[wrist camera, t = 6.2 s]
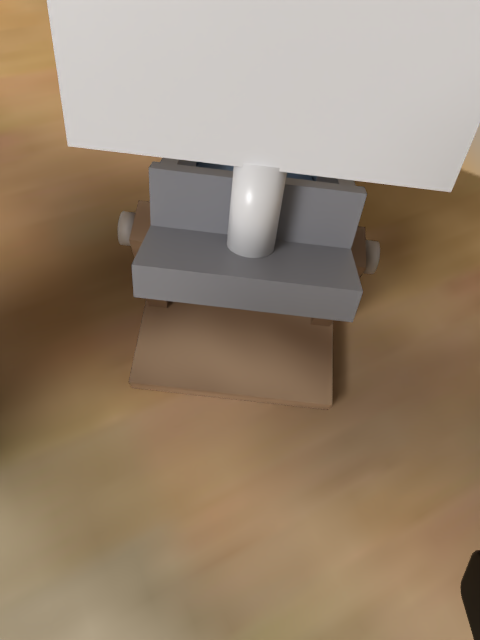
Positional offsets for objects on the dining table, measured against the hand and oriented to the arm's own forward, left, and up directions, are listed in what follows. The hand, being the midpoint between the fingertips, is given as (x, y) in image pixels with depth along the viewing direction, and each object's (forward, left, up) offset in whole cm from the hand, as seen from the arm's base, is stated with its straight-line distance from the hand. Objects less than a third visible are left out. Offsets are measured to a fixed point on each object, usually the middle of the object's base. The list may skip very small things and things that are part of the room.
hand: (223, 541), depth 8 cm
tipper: (+9, -6, -6) cm, 13 cm away
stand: (+8, -6, -13) cm, 16 cm away
